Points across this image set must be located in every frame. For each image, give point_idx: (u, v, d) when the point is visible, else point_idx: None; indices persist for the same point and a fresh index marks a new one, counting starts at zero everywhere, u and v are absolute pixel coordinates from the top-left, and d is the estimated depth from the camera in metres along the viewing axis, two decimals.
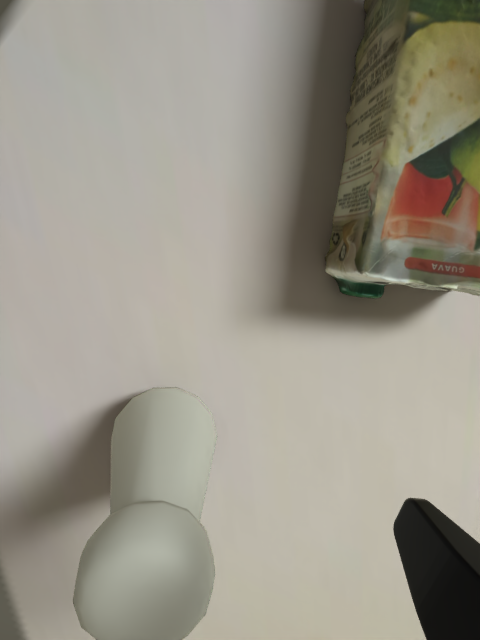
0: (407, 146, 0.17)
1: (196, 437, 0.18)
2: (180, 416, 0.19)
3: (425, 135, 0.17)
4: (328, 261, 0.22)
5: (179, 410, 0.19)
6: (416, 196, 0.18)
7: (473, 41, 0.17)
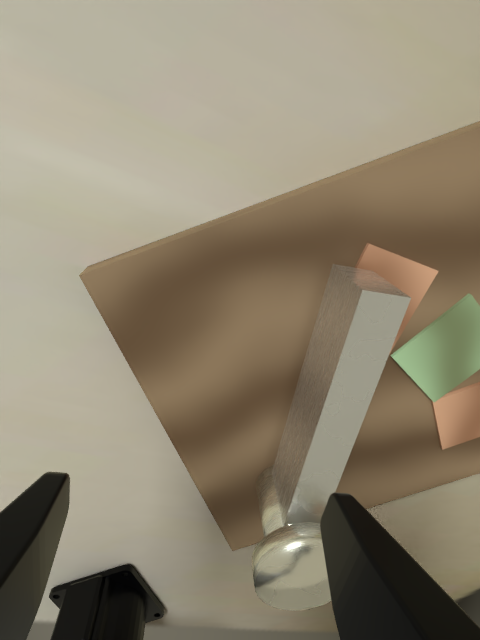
0: None
1: None
2: None
3: None
4: None
5: None
6: None
7: None
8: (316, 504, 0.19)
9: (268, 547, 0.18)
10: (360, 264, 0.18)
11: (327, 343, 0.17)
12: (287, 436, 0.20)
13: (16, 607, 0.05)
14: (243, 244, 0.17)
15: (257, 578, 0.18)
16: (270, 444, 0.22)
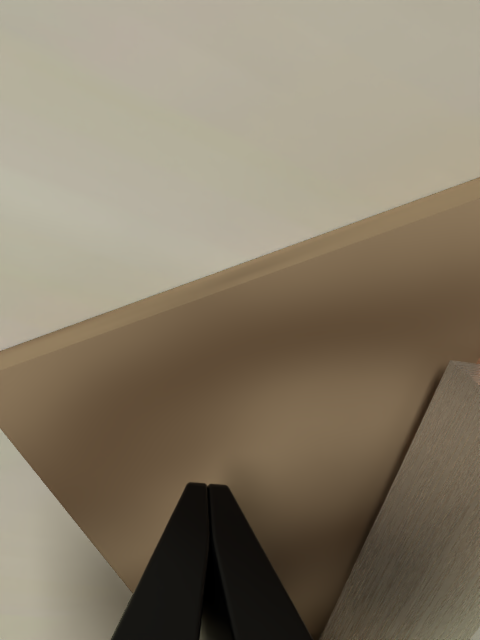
0: None
1: None
2: None
3: None
4: None
5: None
6: None
7: None
8: None
9: None
10: None
11: (449, 527, 0.08)
12: (345, 628, 0.12)
13: None
14: (279, 323, 0.09)
15: None
16: (309, 612, 0.14)
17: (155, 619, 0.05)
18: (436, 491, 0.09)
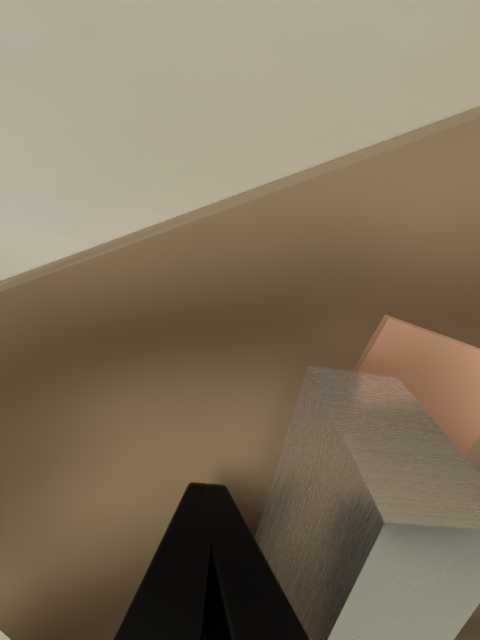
0: None
1: None
2: None
3: None
4: None
5: None
6: None
7: None
8: None
9: None
10: (369, 359, 0.08)
11: (292, 565, 0.07)
12: None
13: None
14: (107, 320, 0.08)
15: None
16: None
17: (157, 619, 0.05)
18: (288, 520, 0.08)
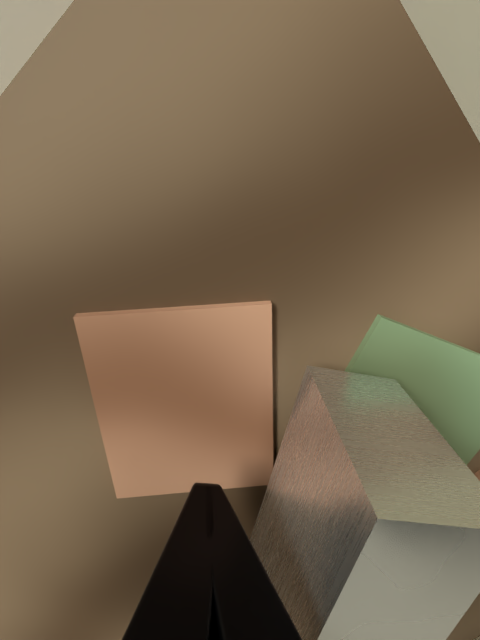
0: None
1: None
2: None
3: None
4: None
5: None
6: None
7: None
8: None
9: None
10: (88, 361, 0.08)
11: (286, 564, 0.07)
12: None
13: None
14: None
15: None
16: None
17: (165, 619, 0.05)
18: (283, 519, 0.08)
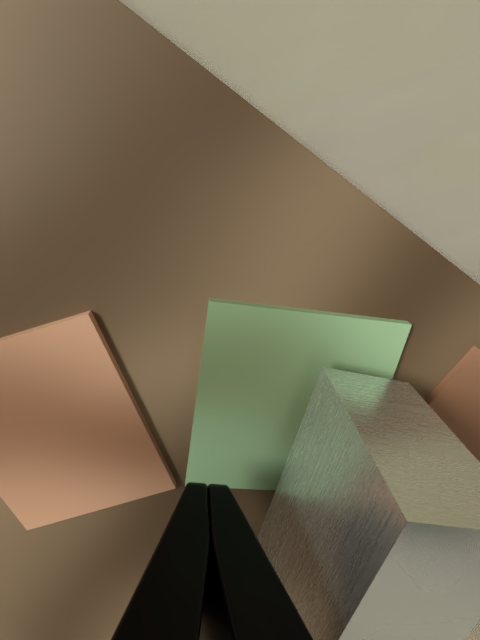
0: None
1: None
2: None
3: None
4: None
5: None
6: None
7: None
8: None
9: None
10: None
11: (300, 564, 0.07)
12: None
13: None
14: None
15: None
16: None
17: (155, 619, 0.05)
18: (296, 520, 0.08)
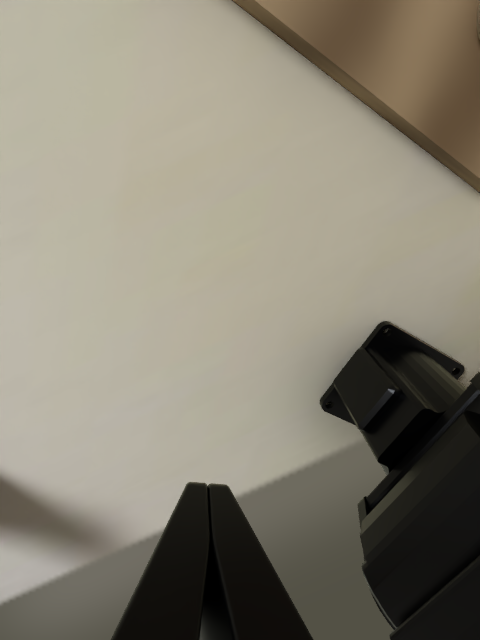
0: None
1: None
2: None
3: None
4: None
5: None
6: None
7: None
8: None
9: None
10: None
11: None
12: None
13: None
14: None
15: None
16: None
17: (155, 619, 0.05)
18: None
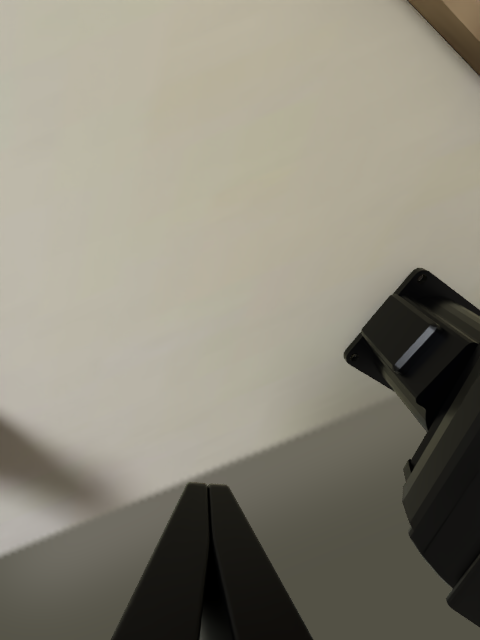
0: None
1: None
2: None
3: None
4: None
5: None
6: None
7: None
8: None
9: None
10: None
11: None
12: None
13: None
14: None
15: None
16: None
17: (155, 619, 0.05)
18: None
